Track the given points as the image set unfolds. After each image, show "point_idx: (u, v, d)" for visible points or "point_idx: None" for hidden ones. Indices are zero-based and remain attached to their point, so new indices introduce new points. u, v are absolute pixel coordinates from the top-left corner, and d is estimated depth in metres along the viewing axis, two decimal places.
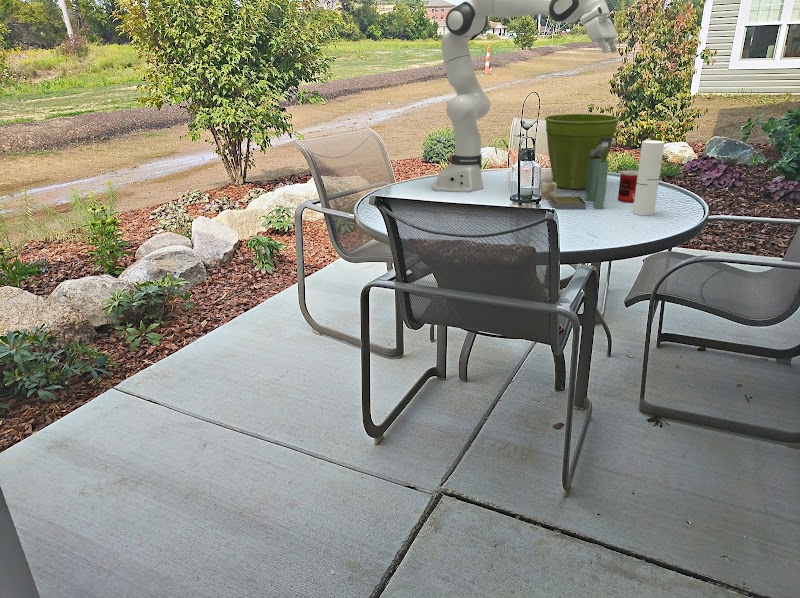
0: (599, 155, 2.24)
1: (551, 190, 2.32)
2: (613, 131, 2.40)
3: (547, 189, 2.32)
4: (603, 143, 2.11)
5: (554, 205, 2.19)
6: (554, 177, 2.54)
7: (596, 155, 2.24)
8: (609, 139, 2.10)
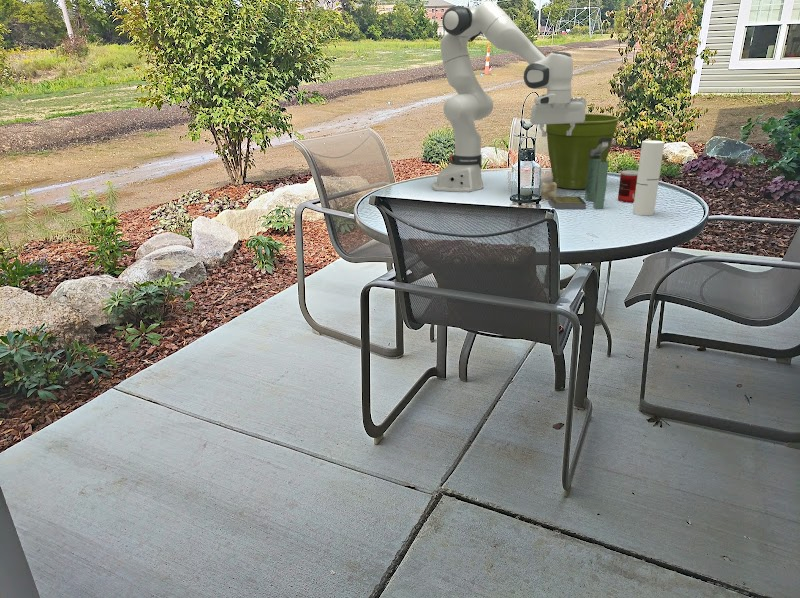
0: (599, 155, 2.24)
1: (551, 190, 2.32)
2: (613, 131, 2.40)
3: (547, 189, 2.32)
4: (603, 143, 2.11)
5: (554, 205, 2.19)
6: (554, 177, 2.54)
7: (596, 155, 2.24)
8: (609, 139, 2.10)
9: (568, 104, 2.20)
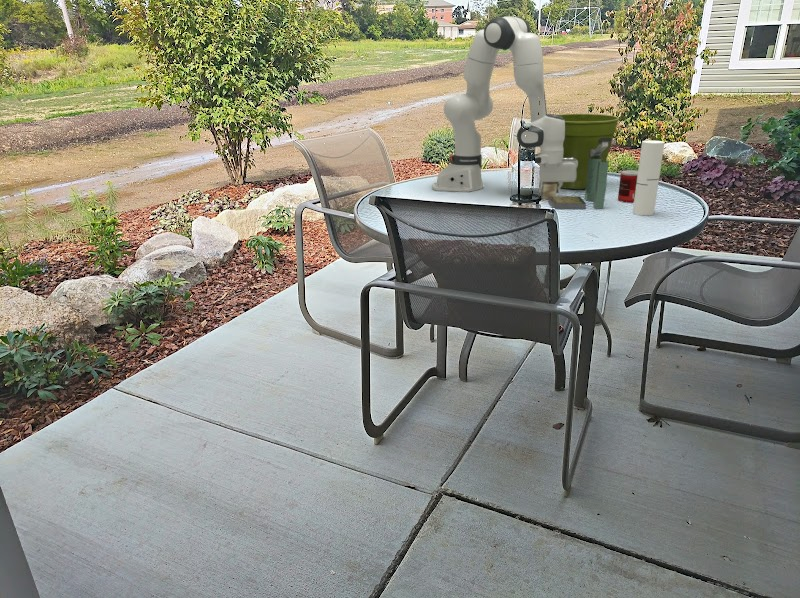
0: (599, 155, 2.24)
1: (551, 190, 2.32)
2: (613, 131, 2.40)
3: (547, 189, 2.32)
4: (603, 143, 2.11)
5: (554, 205, 2.19)
6: None
7: (596, 155, 2.24)
8: (609, 139, 2.10)
9: (560, 164, 2.29)
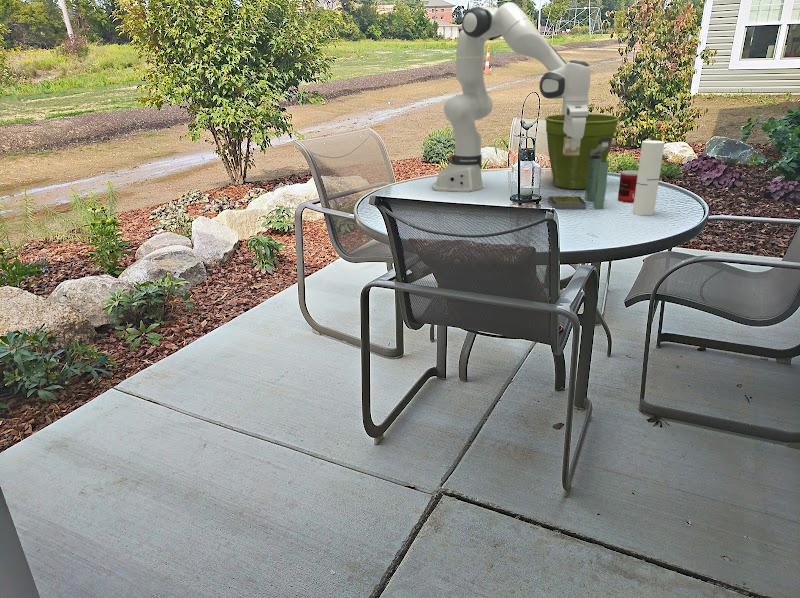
0: (599, 155, 2.24)
1: None
2: (613, 131, 2.40)
3: None
4: (603, 143, 2.11)
5: (554, 205, 2.19)
6: (554, 177, 2.54)
7: (596, 155, 2.24)
8: (609, 139, 2.10)
9: None
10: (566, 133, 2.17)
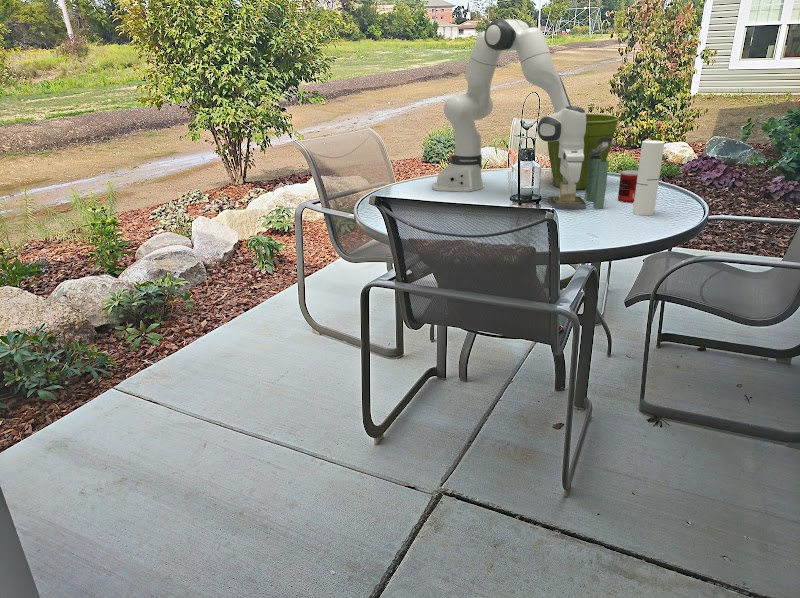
0: (599, 155, 2.24)
1: None
2: (613, 131, 2.40)
3: None
4: (603, 143, 2.11)
5: (554, 205, 2.19)
6: (554, 177, 2.54)
7: (596, 155, 2.24)
8: (609, 139, 2.10)
9: None
10: None
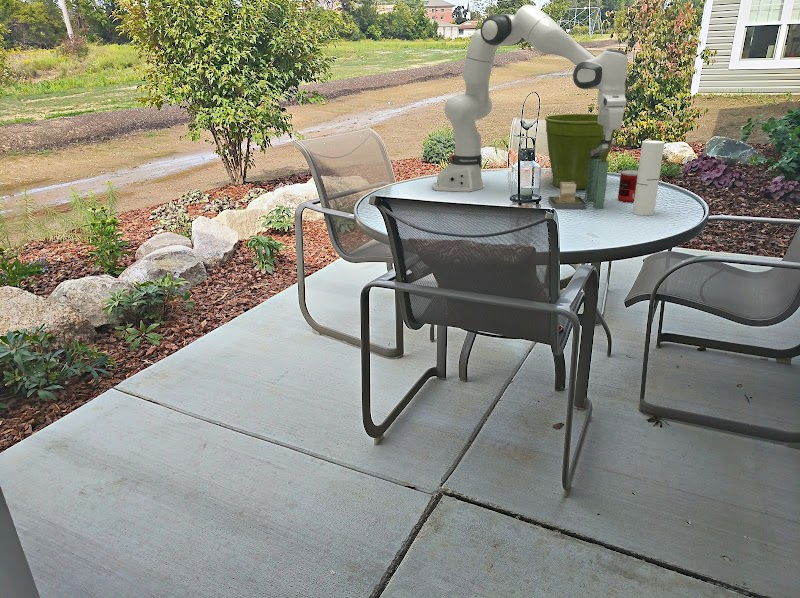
0: (599, 155, 2.24)
1: None
2: (613, 131, 2.40)
3: None
4: (603, 145, 2.11)
5: (554, 205, 2.19)
6: (554, 177, 2.54)
7: (596, 155, 2.24)
8: (609, 141, 2.10)
9: None
10: (601, 124, 2.11)
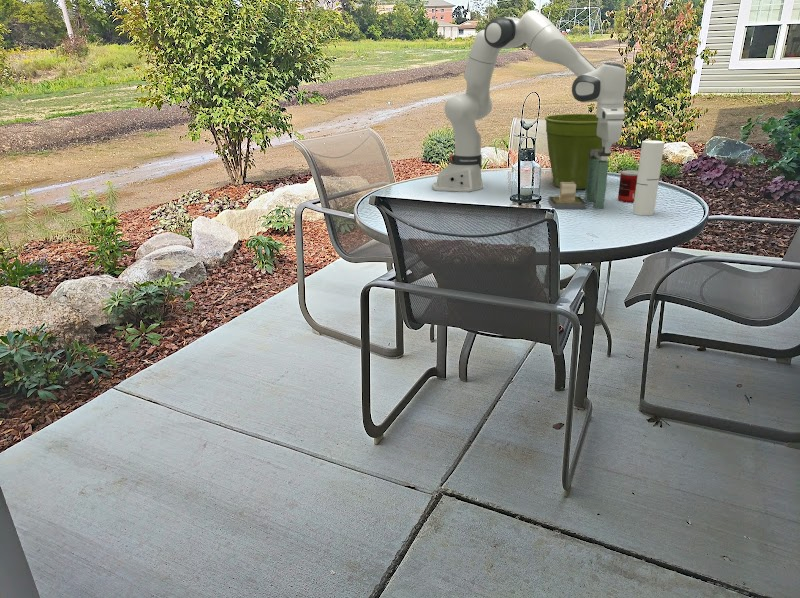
0: None
1: None
2: None
3: None
4: (602, 157, 2.12)
5: (554, 205, 2.19)
6: (554, 177, 2.54)
7: None
8: (608, 154, 2.10)
9: None
10: (600, 137, 2.12)
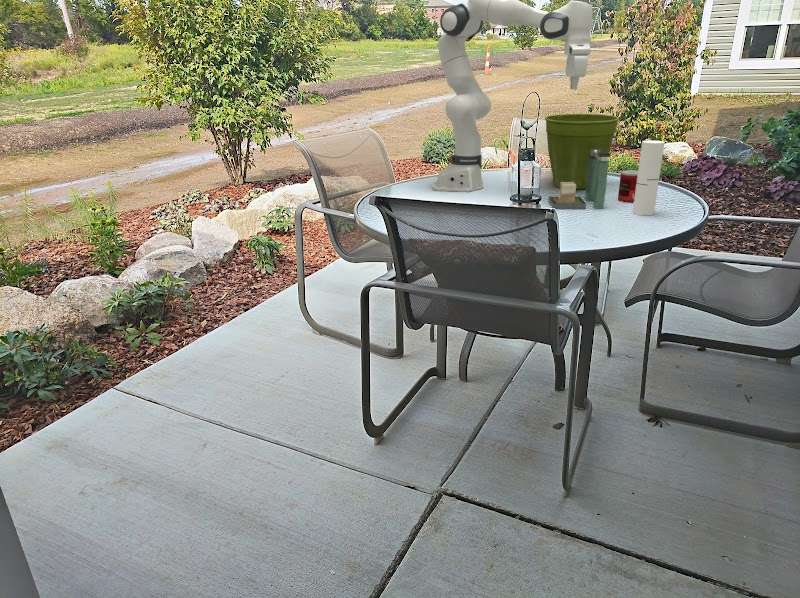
0: None
1: None
2: (613, 131, 2.40)
3: None
4: (602, 158, 2.12)
5: (554, 205, 2.19)
6: (554, 177, 2.54)
7: None
8: (608, 155, 2.10)
9: None
10: (568, 74, 2.19)
